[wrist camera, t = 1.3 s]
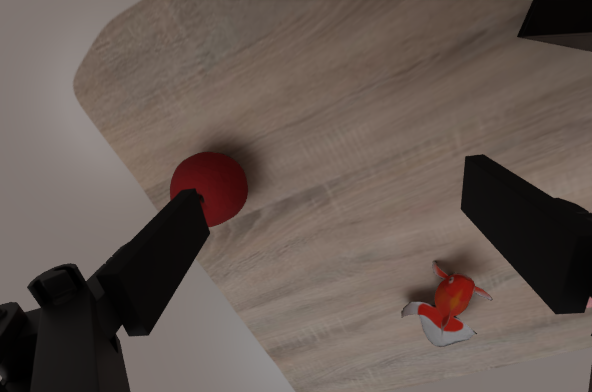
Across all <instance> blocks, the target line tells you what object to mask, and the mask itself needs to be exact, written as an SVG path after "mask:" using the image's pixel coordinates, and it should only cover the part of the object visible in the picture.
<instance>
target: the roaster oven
mask: <svg viewBox="0 0 592 392" xmlns="http://www.w3.org/2000/svg"><path fill="white" fill-rule="evenodd" d="M517 37H519V38H524V39H529V40H534V41H540V42H545V43H550V44H555V45H560V46H565V47H570V48H575V49H580V50H585V51H590V52H592V0H533V2H532V4H531V6H530V9H529V11H528V13H527V15H526V18H525V20H524V22H523V24H522V27H521V29H520V31H519V33H518V36H517Z"/></svg>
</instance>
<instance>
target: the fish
mask: <svg viewBox="0 0 592 392" xmlns="http://www.w3.org/2000/svg"><path fill="white" fill-rule="evenodd" d="M436 263H437V262H436V261H434V262H433V271H434V273H435V274H436V275H437V276H439V277H441V278H442V279H445V280H444V281H442V282H441V283H440V285H439V286H438V288H437V290H436V293H435V305H436V306H434V305H431V304H427V303H423V302H410V303H409V304H408V305H406V306H405V307H404V308H403V311H401V314H402V318H403V317H404V316H407V315H413V314H417V315H419V316H420V319H421V323H422V327H423V330H424V332H425V334H426V336H427V338H428V340H429V341H430V342H431V343H432V344H433V345H435V346H439V347H444V346H447V345H450V344H454V343H457V342H460V341H464V340H469V339H470V338H471V337H472V336H473V335H474V334H477V333H476V332H474V331H473V330H472V329H471V328H470V327H468V326H467V325H466V324H465V323H463V322H462V321H461V320H460V319H458V318H457V317H456V316H457V315H458V314H460V313H461V312H463V311H464V310H465V309H466V307H467V306H468V303H469V301H470V299H471V297H472V294H473V293H474V292H475V293H476V294H478V295H479V296H482V297H484V298H487V299H489V300H493V299H492V298H491V296H490V295H489V294H488V293H486V292H485V291H484V290H483V289H481V288H478V287H476V286H475V284H474V281H473V280H472V279H471V278H470V277H468V276H467V275H464V274H460V273H457V274H456V273H455V272H454V274H453V275H451V276H448V275H447V274H445V273H444V272H443V271H442V270H441V269H440V268H438V266H437V265H436Z"/></svg>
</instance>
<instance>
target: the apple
mask: <svg viewBox="0 0 592 392" xmlns="http://www.w3.org/2000/svg"><path fill="white" fill-rule="evenodd" d="M193 188H196V191H197V194H198V197H199V200H200V203H201V206H202V209H203V213H204V216H205V219H206V222H207V225H208V227H212V226H216V225H219V224H221V223H223V222H225V221H227V220H229V219H231V218H232V217H234V216H235V215H236V214H238V212H239V211H240V210H241V209H242V207H243V206H244V204H245V202H246V199H247V195H248V185H247V179H246V176H245V173H244V170H243V169H242V167H241V166H240V165H239V164H238V163H237V162H236V161H235V160H233V159H232V158H230V157H228V156H226V155H224V154H220V153H214V152H202V153H198V154H195V155H193V156H191V157H189V158H187V159H185V160H184V161H183V162H182V163H180V165H179V166H178V167H177V168H176V170H175V172H174V174H173V177H172V180H171V185H170V198H171V200H172V199H173V198H174V197H175V196H176V195H177V194H178V193H179V192H180V191H181V190H185V189H193Z"/></svg>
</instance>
